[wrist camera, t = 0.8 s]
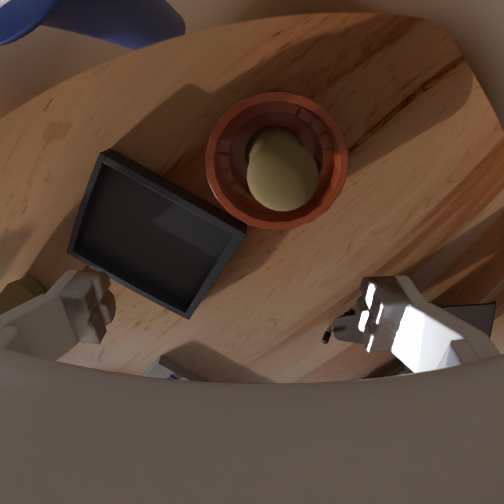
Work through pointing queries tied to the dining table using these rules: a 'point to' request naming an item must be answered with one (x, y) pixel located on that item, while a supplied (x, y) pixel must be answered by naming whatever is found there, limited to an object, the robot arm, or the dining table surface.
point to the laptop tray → (470, 313)
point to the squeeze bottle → (19, 293)
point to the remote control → (170, 371)
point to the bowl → (235, 167)
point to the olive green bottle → (280, 169)
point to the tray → (152, 234)
